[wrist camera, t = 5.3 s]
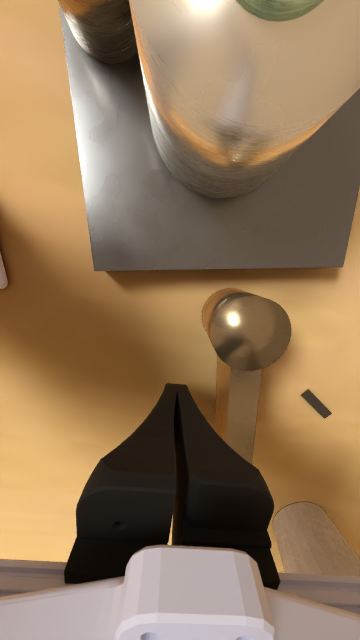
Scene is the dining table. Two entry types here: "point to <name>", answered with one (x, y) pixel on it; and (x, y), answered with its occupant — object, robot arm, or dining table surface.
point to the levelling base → (188, 220)
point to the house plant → (313, 542)
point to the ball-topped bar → (242, 359)
